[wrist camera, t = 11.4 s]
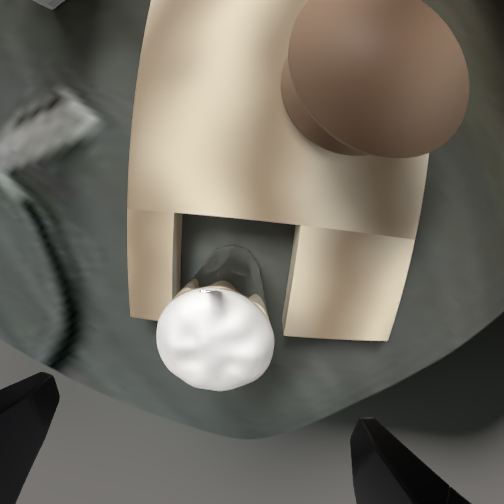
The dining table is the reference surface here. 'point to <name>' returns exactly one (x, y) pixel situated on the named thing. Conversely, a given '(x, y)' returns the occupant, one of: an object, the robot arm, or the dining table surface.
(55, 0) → the medicine box
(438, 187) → the dining table surface
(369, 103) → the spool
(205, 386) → the milkshake
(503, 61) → the dining table surface
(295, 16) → the board
